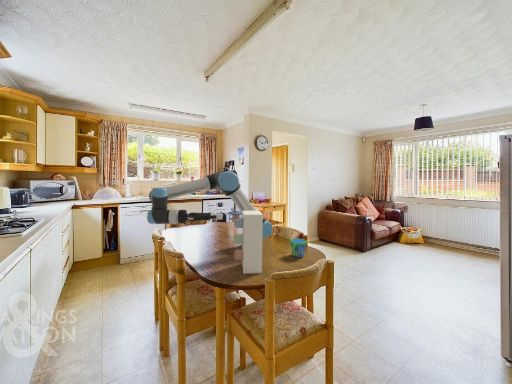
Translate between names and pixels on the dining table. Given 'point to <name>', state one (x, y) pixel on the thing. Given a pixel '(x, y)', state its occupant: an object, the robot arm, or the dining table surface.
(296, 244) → the snack cup
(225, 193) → the robot arm
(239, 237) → the sage button
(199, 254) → the dining table surface
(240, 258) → the terracotta button
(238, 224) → the slate button
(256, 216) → the button pillar
